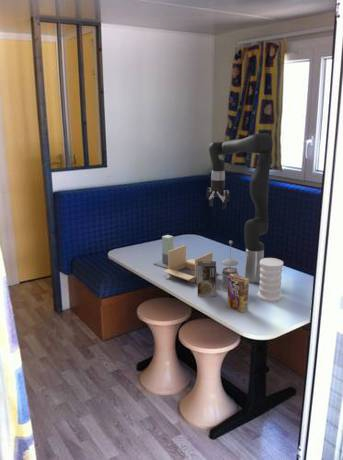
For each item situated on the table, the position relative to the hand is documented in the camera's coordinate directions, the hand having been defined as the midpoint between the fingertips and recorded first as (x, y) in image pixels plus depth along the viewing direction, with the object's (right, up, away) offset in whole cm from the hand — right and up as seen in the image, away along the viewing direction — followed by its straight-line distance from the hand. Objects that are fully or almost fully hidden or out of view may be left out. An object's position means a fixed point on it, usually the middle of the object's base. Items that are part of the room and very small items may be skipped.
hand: (217, 207), depth 250 cm
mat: (-28, -32, +8) cm, 43 cm away
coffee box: (-9, -44, -32) cm, 55 cm away
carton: (-16, -37, -8) cm, 41 cm away
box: (-28, -32, +8) cm, 43 cm away
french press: (+4, -42, -26) cm, 50 cm away
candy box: (+4, -49, -47) cm, 67 cm away
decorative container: (+21, -45, -36) cm, 61 cm away
